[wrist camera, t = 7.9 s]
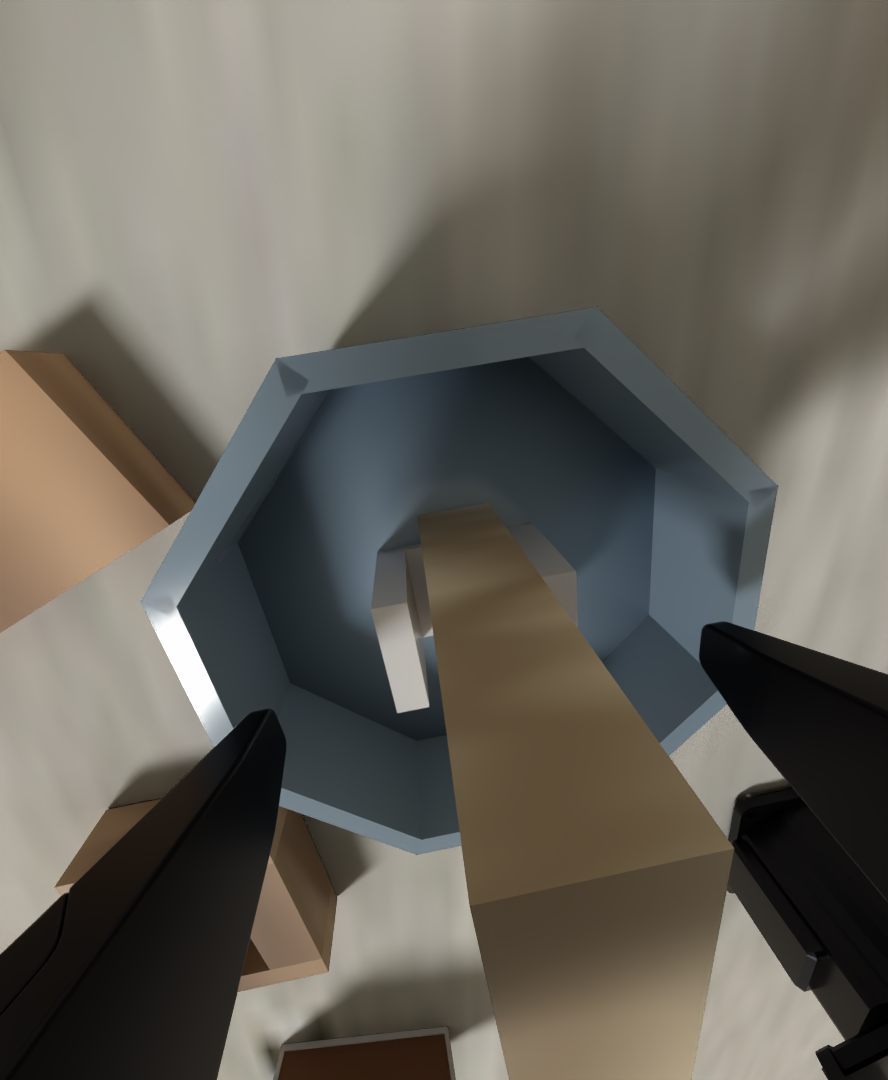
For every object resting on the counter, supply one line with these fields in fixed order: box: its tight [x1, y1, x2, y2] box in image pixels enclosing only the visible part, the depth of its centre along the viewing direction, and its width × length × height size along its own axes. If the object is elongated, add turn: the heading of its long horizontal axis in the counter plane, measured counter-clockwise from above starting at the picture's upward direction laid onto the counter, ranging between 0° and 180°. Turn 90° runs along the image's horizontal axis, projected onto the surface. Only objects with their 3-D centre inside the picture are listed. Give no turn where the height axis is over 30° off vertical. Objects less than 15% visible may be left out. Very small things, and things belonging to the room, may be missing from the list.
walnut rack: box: [54, 799, 337, 992], centre depth 16 cm, size 7×8×2 cm
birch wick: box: [418, 503, 734, 1080], centre depth 8 cm, size 2×4×9 cm, turn 9°
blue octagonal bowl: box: [140, 306, 778, 855], centre depth 11 cm, size 13×13×4 cm
